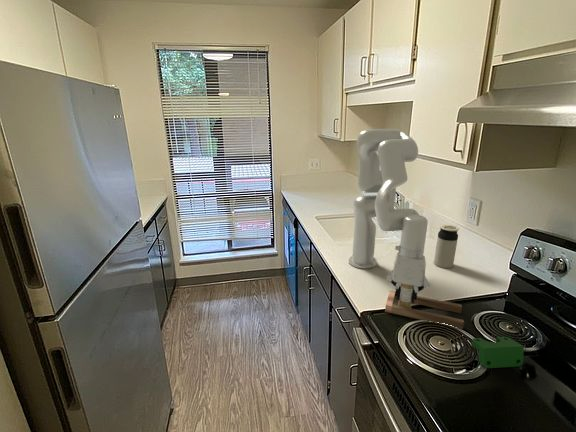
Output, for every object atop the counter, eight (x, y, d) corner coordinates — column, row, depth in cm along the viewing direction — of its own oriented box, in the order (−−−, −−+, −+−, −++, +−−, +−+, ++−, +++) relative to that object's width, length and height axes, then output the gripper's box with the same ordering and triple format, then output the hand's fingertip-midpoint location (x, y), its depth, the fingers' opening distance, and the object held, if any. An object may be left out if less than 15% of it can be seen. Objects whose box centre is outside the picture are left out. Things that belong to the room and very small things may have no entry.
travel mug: (456, 266, 146) (463, 228, 141) (445, 270, 143) (451, 231, 137) (441, 259, 153) (447, 223, 147) (429, 263, 149) (435, 226, 144)
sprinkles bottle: (401, 302, 118) (405, 268, 114) (413, 306, 115) (418, 272, 111) (395, 307, 115) (399, 273, 111) (408, 312, 112) (412, 277, 108)
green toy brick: (500, 367, 94) (512, 338, 94) (515, 379, 88) (529, 348, 88) (463, 353, 93) (476, 324, 93) (477, 364, 87) (490, 333, 87)
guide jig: (389, 296, 122) (389, 290, 122) (460, 310, 113) (461, 304, 112) (385, 311, 113) (385, 305, 112) (462, 329, 104) (463, 322, 103)
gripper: (383, 251, 109) (379, 299, 114) (438, 260, 102) (431, 310, 108) (387, 243, 115) (382, 289, 121) (438, 251, 109) (431, 299, 114)
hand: (405, 298), depth 114 cm, fingers closed on sprinkles bottle, 4 cm apart
